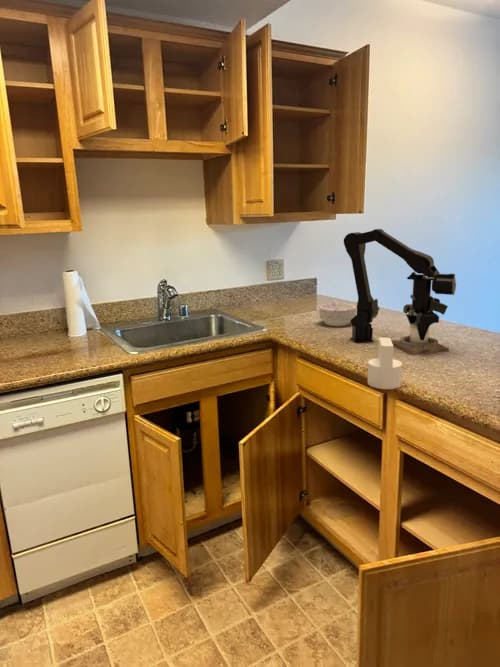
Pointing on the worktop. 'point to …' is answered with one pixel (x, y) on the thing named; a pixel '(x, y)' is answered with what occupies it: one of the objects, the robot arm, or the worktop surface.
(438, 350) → the collar base
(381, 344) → the cylinder with rectangular tab
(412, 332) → the cap
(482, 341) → the worktop surface
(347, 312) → the white bowl
